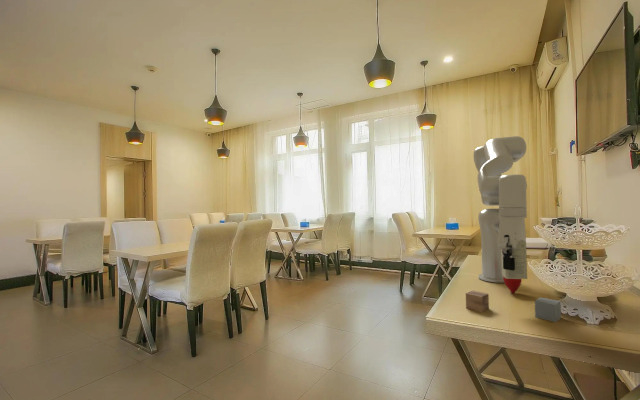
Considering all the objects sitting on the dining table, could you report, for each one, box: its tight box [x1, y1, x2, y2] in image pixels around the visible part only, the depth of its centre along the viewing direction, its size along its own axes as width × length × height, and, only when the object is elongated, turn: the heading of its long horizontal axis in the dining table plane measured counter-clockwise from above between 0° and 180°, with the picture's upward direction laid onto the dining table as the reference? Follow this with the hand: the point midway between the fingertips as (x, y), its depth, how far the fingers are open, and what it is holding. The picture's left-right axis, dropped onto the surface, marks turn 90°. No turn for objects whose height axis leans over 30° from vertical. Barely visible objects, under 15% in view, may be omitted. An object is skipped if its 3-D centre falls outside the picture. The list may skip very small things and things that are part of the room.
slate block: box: [534, 296, 562, 323], centre depth 90 cm, size 5×5×5 cm
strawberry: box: [503, 276, 523, 294], centre depth 113 cm, size 6×8×10 cm
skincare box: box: [501, 240, 528, 280], centre depth 97 cm, size 6×4×12 cm
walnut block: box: [465, 290, 490, 313], centre depth 98 cm, size 5×5×5 cm
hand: (513, 267), depth 97 cm, fingers closed on skincare box, 6 cm apart
